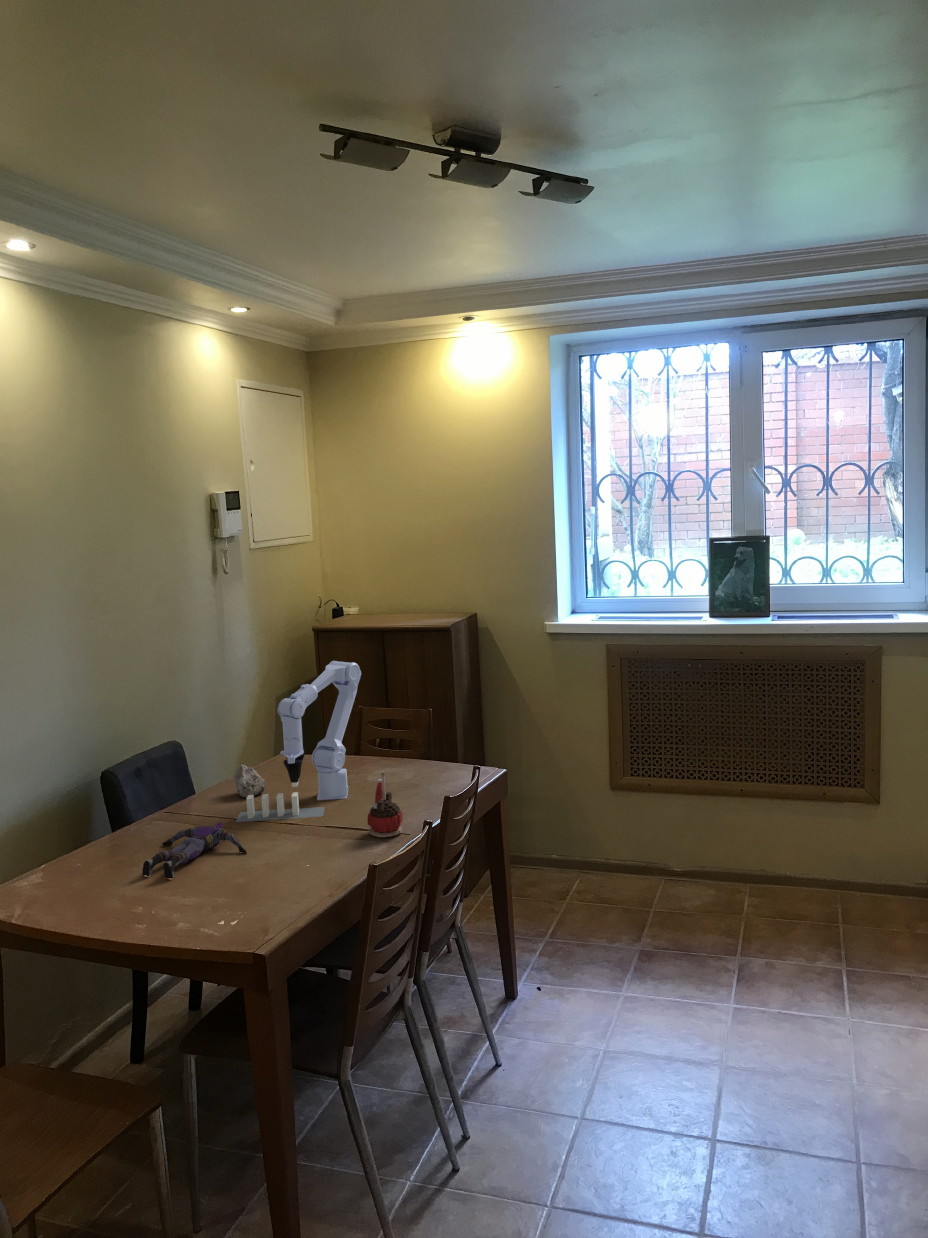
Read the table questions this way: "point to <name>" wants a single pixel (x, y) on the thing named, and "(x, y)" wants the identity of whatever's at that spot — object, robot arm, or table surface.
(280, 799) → the domino
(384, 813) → the cake
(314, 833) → the table surface
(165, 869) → the figurine
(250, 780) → the rock
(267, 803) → the domino
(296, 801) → the domino
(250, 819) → the mat
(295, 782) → the domino
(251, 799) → the domino
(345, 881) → the table surface
